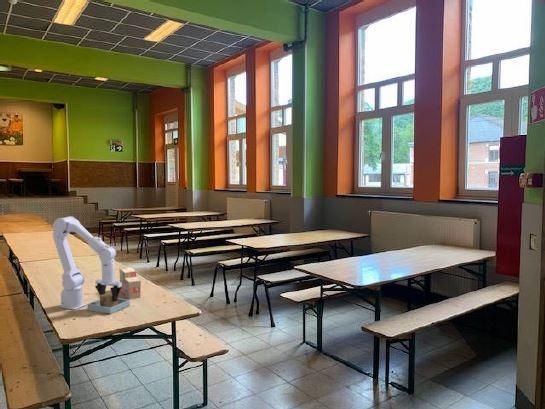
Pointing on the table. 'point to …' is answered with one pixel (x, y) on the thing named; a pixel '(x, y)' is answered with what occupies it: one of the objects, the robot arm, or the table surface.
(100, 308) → the tray
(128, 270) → the stack of blocks
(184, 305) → the table surface
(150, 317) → the table surface
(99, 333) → the table surface
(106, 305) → the walnut block
